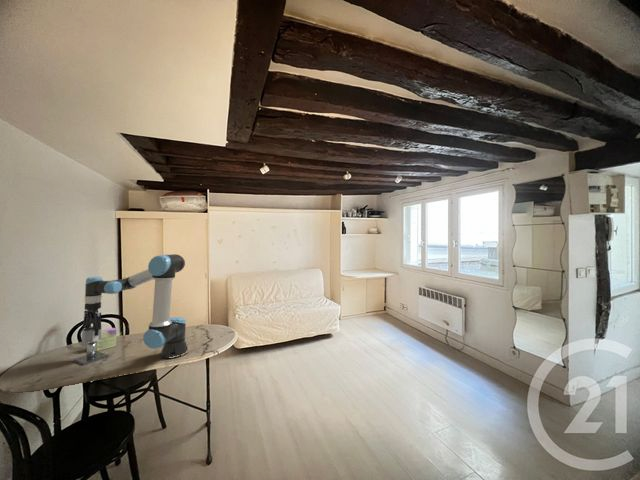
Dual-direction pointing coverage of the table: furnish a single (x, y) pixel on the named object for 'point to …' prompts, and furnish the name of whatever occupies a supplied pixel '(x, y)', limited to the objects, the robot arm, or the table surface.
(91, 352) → the shaft stand
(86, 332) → the hub
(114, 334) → the box
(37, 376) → the table surface
